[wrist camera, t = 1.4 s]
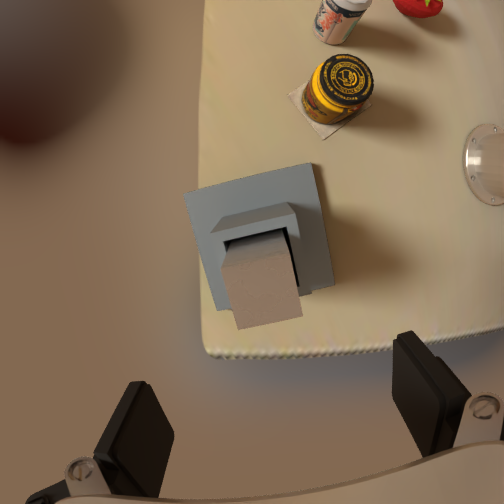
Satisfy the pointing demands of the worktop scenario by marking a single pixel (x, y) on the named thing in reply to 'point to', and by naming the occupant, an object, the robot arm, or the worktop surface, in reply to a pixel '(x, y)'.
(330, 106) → the condiment
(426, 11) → the strawberry
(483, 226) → the worktop surface
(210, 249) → the sleeve
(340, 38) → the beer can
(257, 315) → the block
